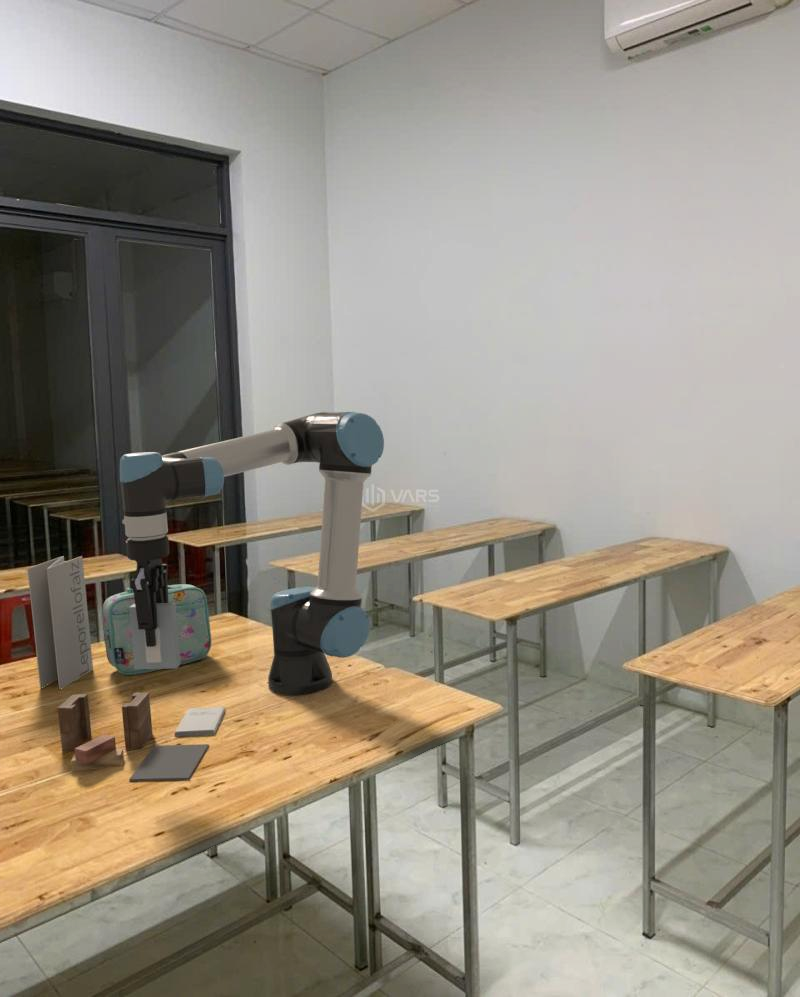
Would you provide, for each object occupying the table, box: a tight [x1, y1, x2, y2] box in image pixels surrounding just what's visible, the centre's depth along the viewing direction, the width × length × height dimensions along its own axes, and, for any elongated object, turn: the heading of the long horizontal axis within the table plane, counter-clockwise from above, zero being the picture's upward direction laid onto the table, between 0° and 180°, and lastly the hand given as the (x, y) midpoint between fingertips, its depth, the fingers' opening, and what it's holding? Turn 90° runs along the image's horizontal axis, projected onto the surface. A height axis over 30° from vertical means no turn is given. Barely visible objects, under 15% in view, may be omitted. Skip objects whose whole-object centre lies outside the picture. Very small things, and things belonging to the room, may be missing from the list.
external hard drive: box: [174, 706, 226, 737], centre depth 175 cm, size 2×8×12 cm
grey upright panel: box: [129, 603, 180, 670], centre depth 154 cm, size 8×2×12 cm, turn 87°
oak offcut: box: [70, 747, 125, 772], centre depth 158 cm, size 9×3×2 cm, turn 101°
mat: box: [128, 743, 210, 782], centre depth 157 cm, size 11×14×1 cm
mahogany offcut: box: [74, 733, 117, 764], centre depth 157 cm, size 7×3×2 cm, turn 151°
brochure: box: [27, 555, 94, 690], centre depth 204 cm, size 14×6×30 cm, turn 168°
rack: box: [57, 692, 153, 752], centre depth 167 cm, size 16×8×9 cm, turn 88°
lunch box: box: [101, 583, 212, 676], centre depth 212 cm, size 27×10×21 cm, turn 120°
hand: (157, 658), depth 155 cm, fingers closed on grey upright panel, 2 cm apart
